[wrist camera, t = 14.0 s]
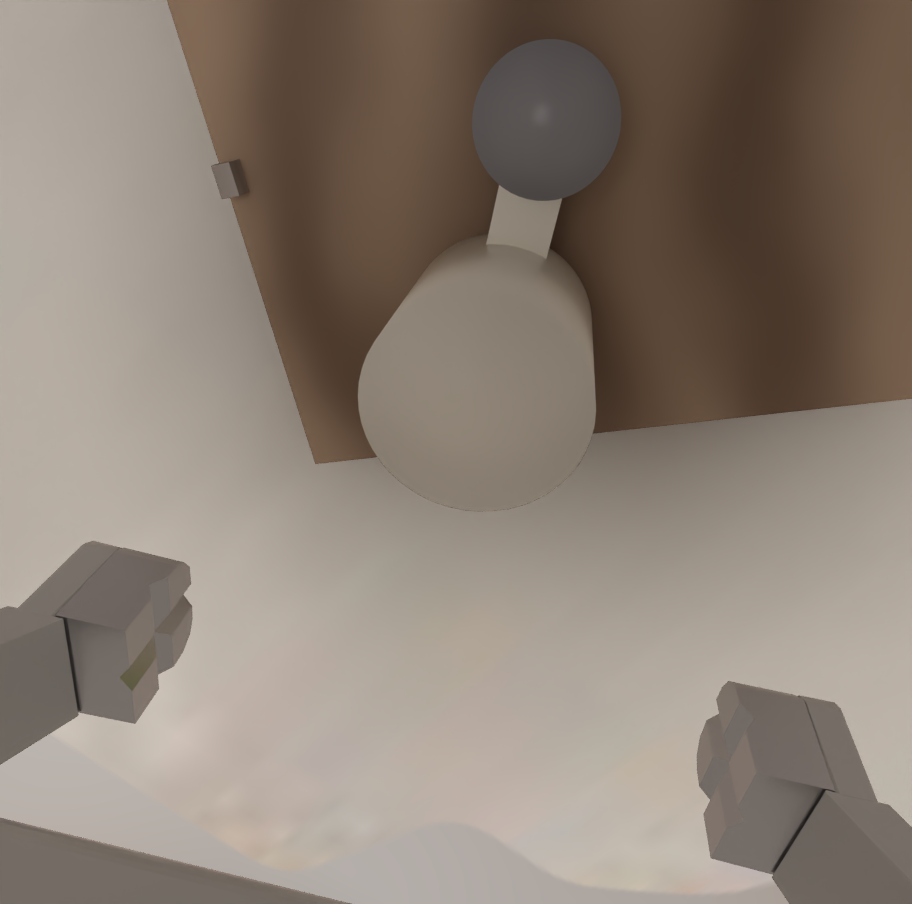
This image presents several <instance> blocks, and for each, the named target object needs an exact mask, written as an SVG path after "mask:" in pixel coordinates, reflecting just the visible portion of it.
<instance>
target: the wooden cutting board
mask: <svg viewBox="0 0 912 904" xmlns="http://www.w3.org/2000/svg"><path fill="white" fill-rule="evenodd" d="M167 2H168V5H169V8H170V11H171V14H172V17H173V20H174V24H175V27H176V30H177V33H178V36H179V39H180V42H181V45H182V49H183V52H184V55H185V58H186V61H187V64H188V67H189V70H190V74H191V77H192V80H193V83H194V86H195V89H196V92H197V95H198V99H199V102H200V105H201V108H202V111H203V114H204V117H205V120H206V124H207V127H208V130H209V133H210V136H211V139H212V142H213V145H214V149H215V152H216V155H217V158H218V161H219V164H216V165H213V166H211V167H212V170H213V173H214V176H215V179H216V183H217V186H218V189H219V192H220V195H221V198H222V199H226V198H230V199H231V202H232V205H233V208H234V211H235V214H236V217H237V220H238V223H239V227H240V230H241V233H242V236H243V239H244V242H245V245H246V248H247V252H248V255H249V258H250V261H251V264H252V267H253V270H254V273H255V277H256V280H257V283H258V286H259V289H260V292H261V295H262V298H263V302H264V305H265V308H266V311H267V314H268V317H269V320H270V323H271V327H272V330H273V333H274V336H275V339H276V342H277V345H278V348H279V352H280V355H281V358H282V361H283V364H284V367H285V370H286V373H287V377H288V380H289V383H290V386H291V389H292V392H293V395H294V398H295V402H296V405H297V408H298V411H299V414H300V417H301V420H302V423H303V426H304V430H305V433H306V436H307V439H308V442H309V445H310V448H311V451H312V455H313V458H314V461H315V464H318V463H328V462H337V461H346V460H355V459H364V458H373V457H377V456H376V454H375V453H374V451H373V450H372V448H371V446H370V444H369V442H368V440H367V438H366V435H365V432H364V429H363V426H362V424H361V419H360V414H359V407H358V386H359V379H360V374H361V370H362V366H363V364H364V361H365V358H366V356H367V354H368V352H369V350H370V348H371V346H372V345H373V343H374V341H375V340H376V338H377V337H378V336H379V334H380V333H381V331H382V330H383V329H384V327H385V326H386V324H387V323H388V322H389V320H390V319H391V317H392V316H393V314H394V313H395V312H396V310H397V309H398V307H399V306H400V305H401V303H402V302H403V300H404V299H405V298H406V296H407V295H408V293H409V292H410V290H411V289H412V288H413V286H414V285H415V283H416V282H417V281H418V279H419V278H420V276H421V275H422V274H423V272H424V271H425V270H426V268H427V267H428V266H429V264H430V263H431V262H432V261H433V260H434V259H435V258H436V257H437V256H438V255H439V254H441V253H442V252H443V251H445V250H446V249H447V248H449V247H451V246H452V245H454V244H456V243H458V242H460V241H463V240H465V239H468V238H470V237H474V236H478V235H483V234H488V233H489V229H490V224H491V220H492V215H493V211H494V206H495V202H496V197H497V192H498V188H499V184H498V183H497V182H496V181H495V180H494V179H493V178H492V177H491V176H490V175H489V174H488V172H487V171H486V169H485V168H484V166H483V164H482V162H481V161H480V159H479V156H478V154H477V151H476V148H475V144H474V139H473V132H472V115H473V108H474V103H475V100H476V96H477V93H478V91H479V88H480V86H481V84H482V82H483V80H484V78H485V77H486V75H487V74H488V72H489V71H490V70H491V68H492V67H493V66H494V65H495V64H496V63H497V62H498V61H499V60H500V59H501V58H502V57H503V56H504V55H506V54H507V53H508V52H510V51H512V50H513V49H515V48H517V47H519V46H521V45H523V44H525V43H529V42H532V41H536V40H542V39H558V40H565V41H568V42H571V43H575V44H577V45H579V46H581V47H583V48H585V49H586V50H588V51H589V52H591V53H592V54H593V55H595V56H596V57H597V58H598V59H599V60H600V61H601V62H602V64H603V65H604V66H605V67H606V68H607V70H608V72H609V73H610V75H611V77H612V78H613V81H614V83H615V85H616V88H617V91H618V94H619V98H620V105H621V128H620V134H619V138H618V142H617V145H616V148H615V151H614V153H613V155H612V157H611V159H610V161H609V162H608V164H607V165H606V167H605V168H604V170H603V171H602V172H601V173H600V174H599V176H598V177H597V178H596V179H595V180H594V181H592V182H591V183H590V184H589V185H588V186H586V187H585V188H583V189H582V190H580V191H578V192H577V193H575V194H573V195H570V196H568V197H565V198H562V201H561V205H560V209H559V213H558V216H557V220H556V224H555V228H554V232H553V235H552V239H551V243H550V247H549V248H550V249H552V250H553V251H555V252H556V253H557V254H558V255H560V256H561V257H562V258H563V259H564V260H565V261H566V262H567V263H568V264H569V265H570V266H571V267H572V268H573V270H574V271H575V273H576V274H577V276H578V277H579V279H580V280H581V282H582V284H583V286H584V288H585V290H586V293H587V296H588V299H589V303H590V308H591V314H592V334H593V355H594V376H595V397H596V417H595V426H594V430H593V433H601V432H610V431H620V430H629V429H638V428H647V427H656V426H665V425H674V424H683V423H693V422H702V421H711V420H720V419H729V418H738V417H747V416H756V415H766V414H775V413H784V412H793V411H802V410H811V409H820V408H829V407H839V406H848V405H857V404H866V403H875V402H884V401H893V400H902V399H912V0H167Z"/></svg>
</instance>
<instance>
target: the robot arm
mask: <svg viewBox="0 0 912 904" xmlns="http://www.w3.org/2000/svg"><path fill="white" fill-rule="evenodd" d="M190 585H191V577H190V567H189V566H188V565H187V564H186V563H184V562H180V561H176V560H172V559H168V558H164V557H160V556H156V555H152V554H148V553H144V552H139V551H135V550H131V549H127V548H120V547H116V546H112V545H108V544H104V543H100V542H96V541H91V542H88V543H85V544H83V545H82V546H81V547H80V548H79V549H78V550H77V551H76V552H75V553H74V554H72V555H71V556H70V557H69V558H68V559H67V560H66V561H65V562H64V563H63V564H62V565H61V566H60V567H59V568H58V569H57V570H56V571H55V572H54V573H53V574H52V575H51V576H50V577H49V578H48V579H47V580H46V581H45V582H44V583H43V584H42V585H41V586H40V587H39V588H38V589H37V590H36V591H35V592H34V593H33V594H32V595H31V596H30V597H29V598H28V599H27V600H26V601H25V602H23V603H22V604H21V605H20V606H19V607H18V608H14V607H10V606H7V607H4V608H2V609H0V764H2V763H3V762H5V761H7V760H8V759H10V758H12V757H13V756H15V755H16V754H18V753H20V752H21V751H23V750H24V749H26V748H28V747H29V746H31V745H32V744H34V743H35V742H37V741H39V740H40V739H42V738H43V737H45V736H47V735H48V734H50V733H52V732H53V731H55V730H56V729H58V728H59V727H61V726H63V725H64V724H66V723H67V722H69V721H71V720H72V719H74V718H75V717H77V716H78V712H80V713H85V714H90V715H94V716H99V717H104V718H109V719H114V720H119V721H124V722H129V723H134V724H136V722H137V721H138V719H139V718H140V716H141V715H142V713H143V712H144V710H145V709H146V707H147V706H148V704H149V703H150V701H151V700H152V698H153V697H154V695H155V694H156V692H157V691H158V689H159V684H158V674H160V673H162V672H164V671H166V670H168V669H170V668H172V667H173V666H174V665H175V664H176V662H177V661H178V659H179V657H180V656H181V654H182V653H183V651H184V648H185V645H186V643H187V640H188V638H189V635H190V631H191V625H192V605H191V604H190V603H189V601H188V600H187V599H186V597H185V596H184V595H183V594H184V593H185V591H186V590H187V589H188V587H189V586H190ZM716 700H717V705H718V710H719V714H718V715H716V716H714V717H712V718H710V719H708V720H707V721H706V723H705V726H704V728H703V731H702V733H701V736H700V740H699V746H698V752H697V774H698V781H699V786H700V788H701V789H702V790H703V791H704V793H705V794H706V795H707V796H708V798H709V799H710V802H709V804H708V806H707V808H706V810H705V812H704V820H705V826H706V832H707V838H708V845H709V851H710V857H711V858H712V859H716V860H720V861H723V862H727V863H731V864H735V865H739V866H743V867H746V868H750V869H754V870H758V871H762V872H765V873H769V874H773V876H772V878H773V880H774V881H775V883H776V884H777V886H778V887H779V889H780V890H781V892H782V893H783V895H784V896H785V898H786V899H787V901H788V902H789V904H912V827H911V826H910V825H909V824H908V823H907V822H906V821H905V820H904V819H903V818H902V817H901V816H900V815H899V814H898V813H897V812H896V811H895V810H894V809H893V808H892V807H891V806H890V805H887V804H883V803H879V802H878V801H877V799H876V796H875V794H874V791H873V789H872V786H871V784H870V781H869V779H868V776H867V774H866V771H865V769H864V766H863V764H862V761H861V759H860V756H859V753H858V751H857V748H856V746H855V743H854V741H853V738H852V736H851V733H850V731H849V728H848V726H847V723H846V721H845V718H844V716H843V713H842V711H841V709H840V708H839V707H838V706H837V705H836V704H835V703H834V702H829V701H824V700H819V699H814V698H809V697H804V696H796V695H793V694H788V693H783V692H778V691H773V690H769V689H764V688H759V687H754V686H750V685H745V684H740V683H735V682H731V681H728V682H727V683H726V684H725V685H724V686H723V687H722V689H721V691H720V693H719V695H718V697H717V699H716ZM0 904H350V903H346V902H342V901H338V900H334V899H330V898H326V897H321V896H317V895H314V894H310V893H305V892H301V891H297V890H293V889H289V888H285V887H281V886H277V885H273V884H269V883H265V882H261V881H257V880H252V879H249V878H244V877H240V876H236V875H232V874H228V873H224V872H219V871H216V870H212V869H207V868H204V867H199V866H195V865H191V864H187V863H183V862H179V861H175V860H170V859H166V858H163V857H159V856H155V855H150V854H146V853H142V852H138V851H134V850H130V849H125V848H122V847H118V846H114V845H110V844H106V843H101V842H97V841H93V840H89V839H85V838H81V837H76V836H73V835H68V834H64V833H61V832H56V831H52V830H48V829H44V828H40V827H36V826H32V825H27V824H24V823H20V822H15V821H11V820H7V819H3V818H0Z"/></svg>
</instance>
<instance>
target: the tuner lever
mask: <svg viewBox="0 0 912 904" xmlns="http://www.w3.org/2000/svg"><path fill="white" fill-rule="evenodd" d="M620 128H621V105H620V98H619V94H618V91H617V88H616V85H615V83H614V81H613V78H612V77H611V75H610V73H609V72H608V70H607V68H606V67H605V66H604V65H603V64H602V62H601V61H600V60H599V59H598V58H597V57H596V56H595V55H593V54H592V53H591V52H589V51H588V50H586V49H585V48H583V47H581V46H579V45H577V44H575V43H571V42H568V41H565V40H558V39H542V40H536V41H532V42H529V43H525V44H523V45H521V46H519V47H517V48H515V49H513V50H512V51H510V52H508V53H507V54H506V55H504V56H503V57H502V58H501V59H500V60H499V61H498V62H497V63H496V64H495V65H494V66H493V67H492V68H491V70H490V71H489V72H488V74H487V75H486V77H485V78H484V80H483V82H482V84H481V86H480V88H479V91H478V93H477V96H476V100H475V103H474V108H473V115H472V132H473V139H474V144H475V148H476V151H477V154H478V156H479V159H480V161H481V162H482V164H483V166H484V168H485V169H486V171H487V172H488V174H489V175H490V176H491V177H492V178H493V179H494V180H495V181H496V182H497V183H498V184H499V188H498V192H497V197H496V202H495V206H494V211H493V215H492V220H491V224H490V229H489V233H488V234H483V235H478V236H474V237H470V238H468V239H465V240H463V241H460V242H458V243H456V244H454V245H452V246H451V247H449V248H447V249H446V250H445V251H443V252H442V253H441V254H439V255H438V256H437V257H436V258H435V259H434V260H433V261H432V262H431V263H430V264H429V266H428V267H427V268H426V270H425V271H424V272H423V274H422V275H421V276H420V278H419V279H418V281H417V282H416V283H415V285H414V286H413V288H412V289H411V290H410V292H409V293H408V295H407V296H406V298H405V299H404V300H403V302H402V303H401V305H400V306H399V307H398V309H397V310H396V312H395V313H394V314H393V316H392V317H391V319H390V320H389V322H388V323H387V324H386V326H385V327H384V329H383V330H382V331H381V333H380V334H379V336H378V337H377V338H376V340H375V341H374V343H373V345H372V346H371V348H370V350H369V352H368V354H367V356H366V358H365V361H364V364H363V366H362V370H361V374H360V379H359V386H358V407H359V414H360V419H361V424H362V426H363V429H364V432H365V435H366V438H367V440H368V442H369V444H370V446H371V448H372V450H373V451H374V453H375V454H376V456H377V457H378V459H379V460H380V461H381V463H382V464H383V465H384V466H385V467H386V469H387V470H388V471H389V472H390V473H391V474H392V475H393V476H394V477H395V478H396V479H398V480H399V481H400V482H401V483H402V484H404V485H405V486H406V487H408V488H409V489H411V490H412V491H414V492H416V493H417V494H419V495H421V496H422V497H424V498H427V499H429V500H431V501H433V502H436V503H438V504H441V505H445V506H448V507H451V508H456V509H461V510H468V511H498V510H505V509H511V508H514V507H518V506H522V505H525V504H527V503H530V502H532V501H535V500H537V499H539V498H540V497H542V496H544V495H546V494H548V493H549V492H551V491H552V490H553V489H555V488H556V487H558V486H559V485H560V484H561V483H562V482H563V481H564V480H565V479H566V478H567V477H569V476H570V474H571V473H572V472H573V471H574V469H575V468H576V467H577V466H578V464H579V463H580V461H581V459H582V458H583V456H584V454H585V453H586V450H587V448H588V446H589V443H590V441H591V438H592V434H593V430H594V426H595V417H596V397H595V376H594V355H593V334H592V314H591V308H590V303H589V299H588V296H587V293H586V290H585V288H584V286H583V284H582V282H581V280H580V279H579V277H578V276H577V274H576V273H575V271H574V270H573V268H572V267H571V266H570V265H569V264H568V263H567V262H566V261H565V260H564V259H563V258H562V257H561V256H560V255H558V254H557V253H556V252H555V251H553V250H552V249H550V248H549V247H550V243H551V239H552V235H553V232H554V228H555V224H556V220H557V216H558V213H559V209H560V205H561V201H562V198H565V197H568V196H570V195H573V194H575V193H577V192H578V191H580V190H582V189H583V188H585V187H586V186H588V185H589V184H590V183H591V182H592V181H594V180H595V179H596V178H597V177H598V176H599V174H600V173H601V172H602V171H603V170H604V168H605V167H606V165H607V164H608V162H609V161H610V159H611V157H612V155H613V153H614V151H615V148H616V145H617V142H618V138H619V134H620Z"/></svg>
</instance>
